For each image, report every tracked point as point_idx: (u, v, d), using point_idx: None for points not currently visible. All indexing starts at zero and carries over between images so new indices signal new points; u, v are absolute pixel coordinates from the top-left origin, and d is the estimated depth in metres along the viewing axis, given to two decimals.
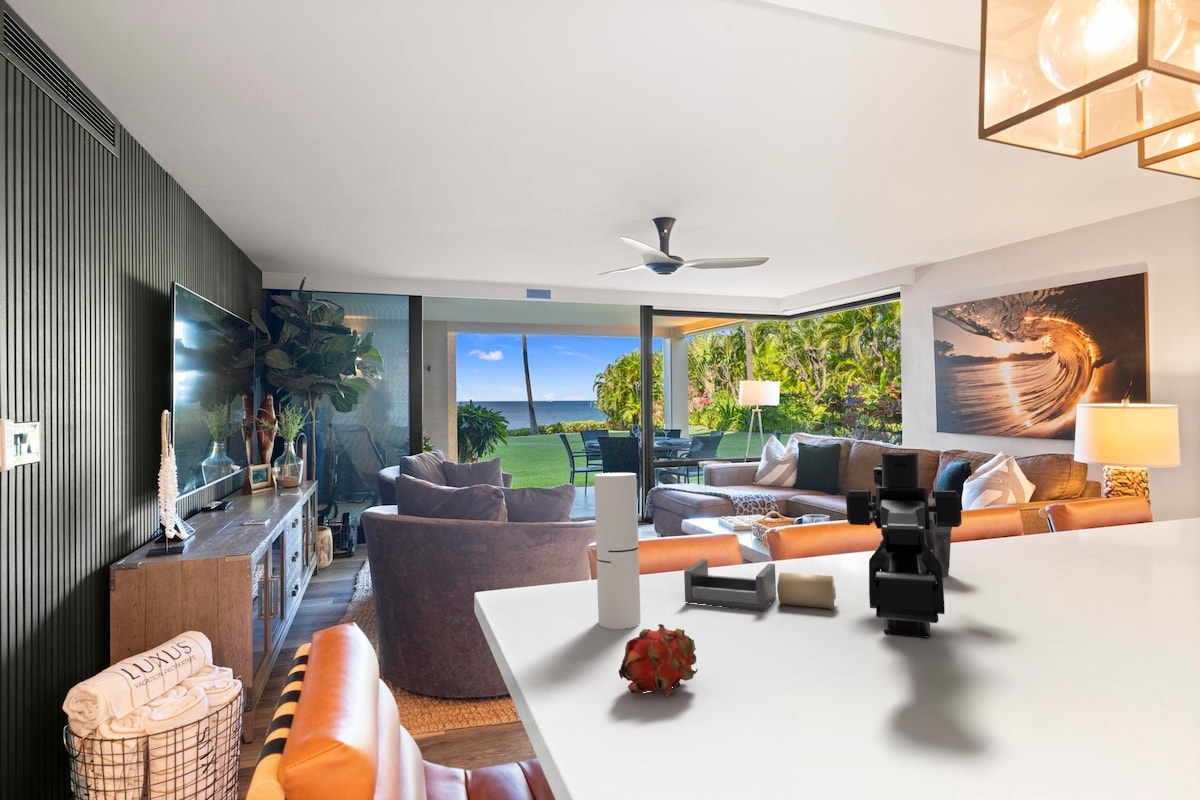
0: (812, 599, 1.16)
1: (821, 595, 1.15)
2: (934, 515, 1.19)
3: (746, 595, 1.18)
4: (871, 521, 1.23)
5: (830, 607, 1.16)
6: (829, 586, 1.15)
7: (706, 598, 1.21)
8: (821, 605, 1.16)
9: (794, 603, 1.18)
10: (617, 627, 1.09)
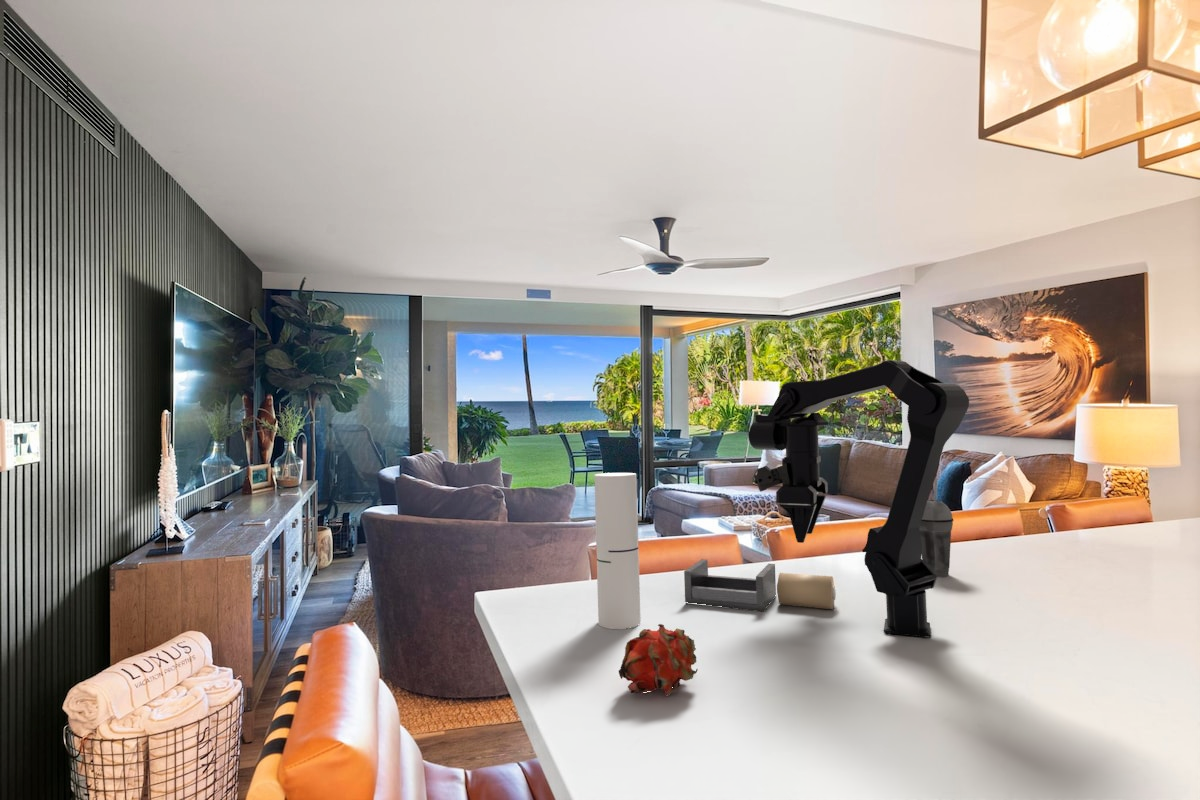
0: (812, 601, 1.16)
1: (821, 598, 1.15)
2: None
3: (746, 595, 1.18)
4: None
5: (830, 608, 1.16)
6: (829, 588, 1.15)
7: (706, 598, 1.21)
8: (821, 606, 1.16)
9: (794, 604, 1.18)
10: (617, 627, 1.09)
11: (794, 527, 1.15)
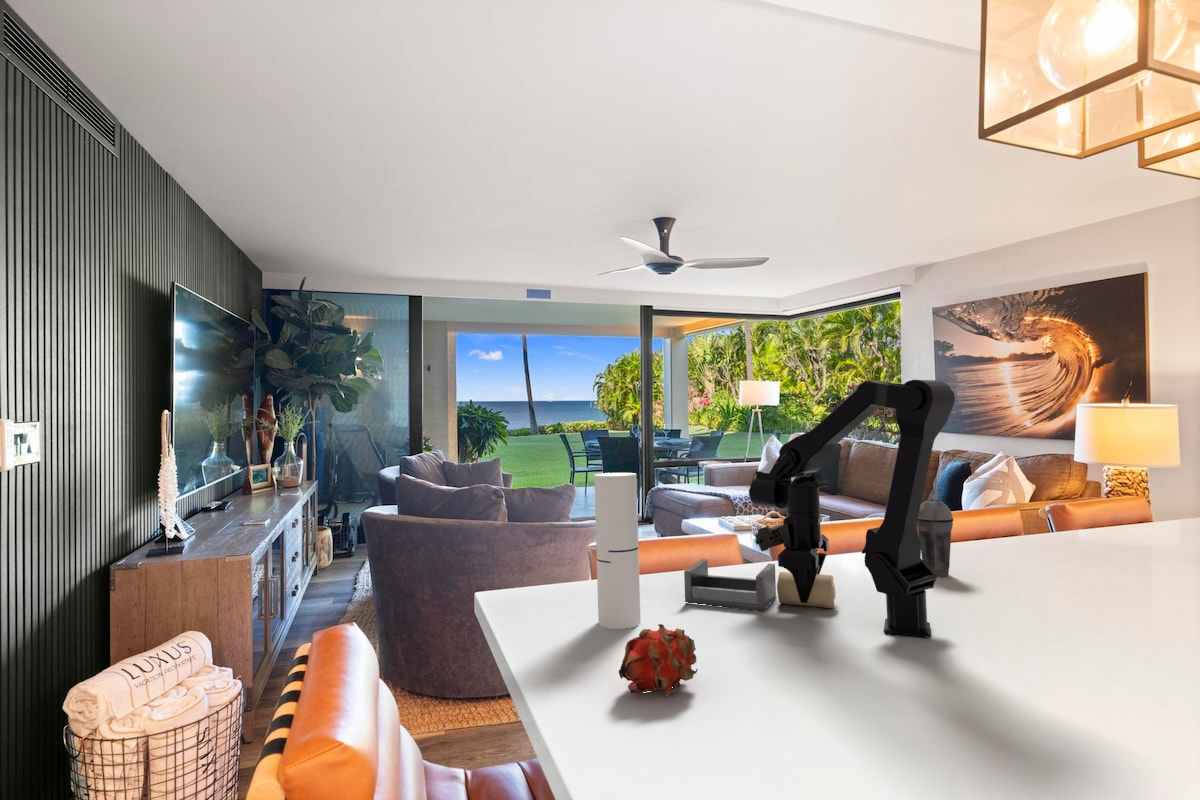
0: (812, 599, 1.16)
1: (821, 595, 1.15)
2: None
3: (746, 595, 1.18)
4: None
5: (830, 606, 1.16)
6: (829, 585, 1.15)
7: (706, 598, 1.21)
8: (821, 605, 1.16)
9: (794, 602, 1.18)
10: (617, 627, 1.09)
11: (798, 587, 1.16)
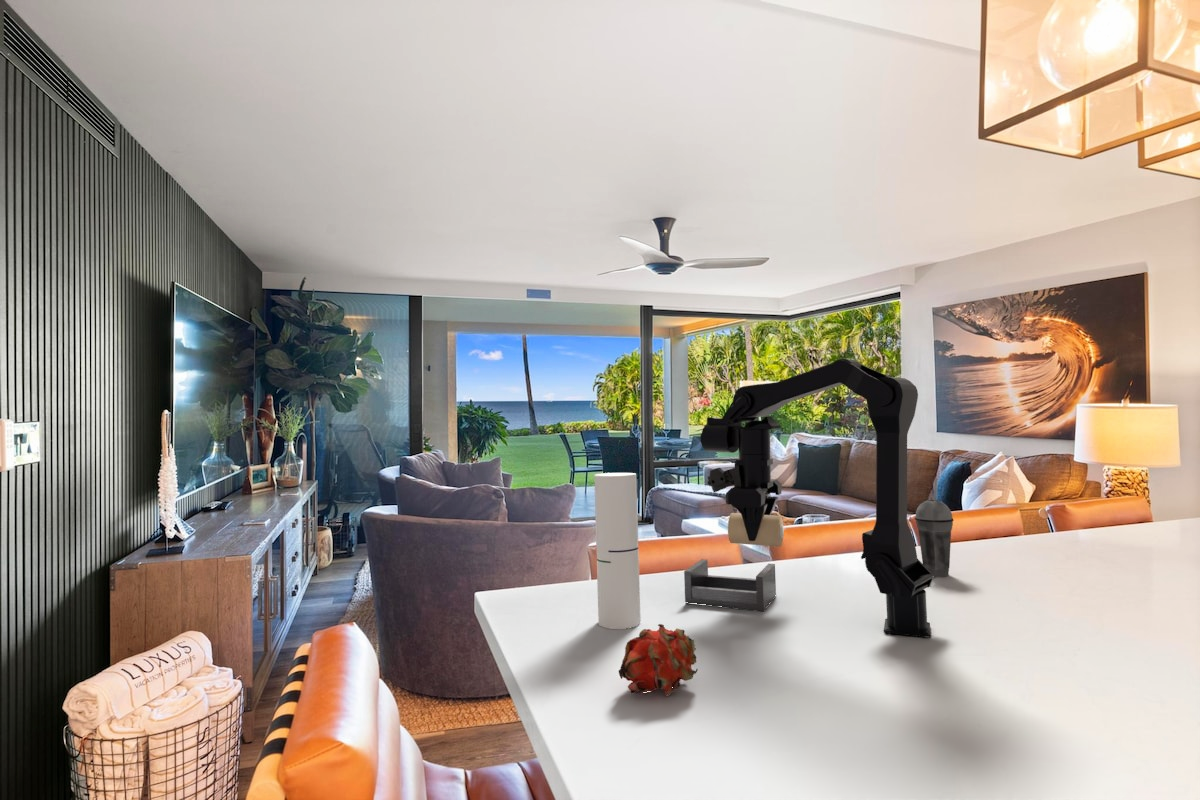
0: (760, 537, 1.20)
1: (768, 533, 1.19)
2: (766, 498, 1.26)
3: (746, 595, 1.18)
4: None
5: (777, 545, 1.20)
6: (776, 524, 1.19)
7: (706, 598, 1.21)
8: (768, 543, 1.20)
9: (743, 541, 1.22)
10: (617, 627, 1.09)
11: (746, 526, 1.20)
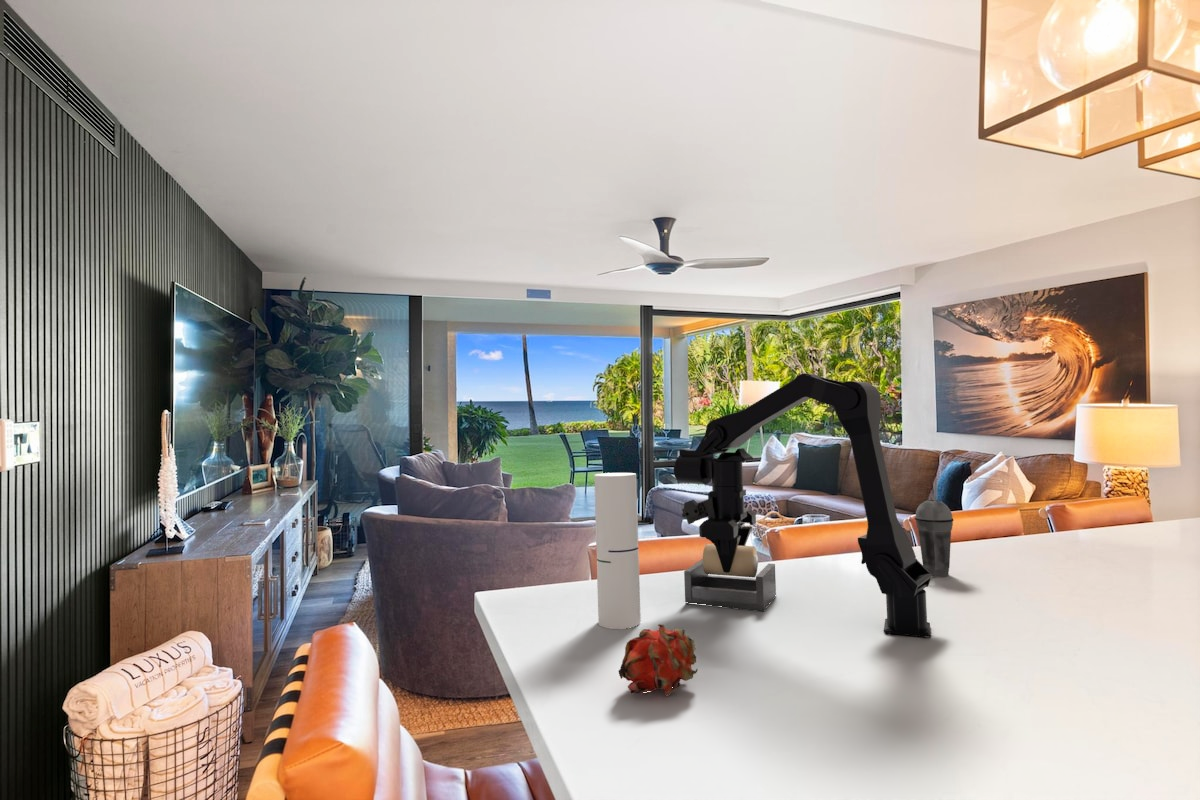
0: (734, 568, 1.21)
1: (742, 564, 1.20)
2: (741, 529, 1.27)
3: (746, 595, 1.18)
4: None
5: (751, 575, 1.21)
6: (749, 555, 1.20)
7: (706, 598, 1.21)
8: (743, 574, 1.21)
9: (718, 572, 1.23)
10: (617, 627, 1.09)
11: (720, 558, 1.21)
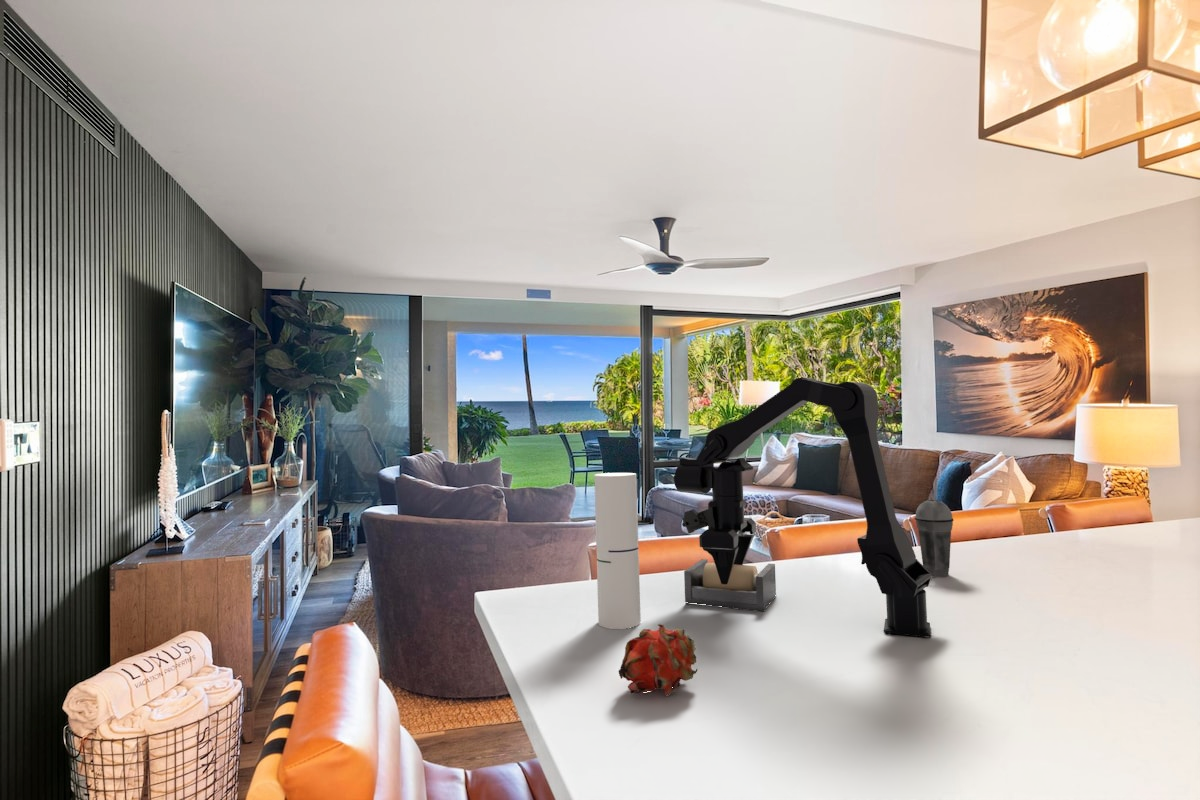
0: (734, 589, 1.21)
1: (742, 586, 1.20)
2: (743, 537, 1.29)
3: (746, 595, 1.18)
4: None
5: None
6: (750, 576, 1.20)
7: (706, 598, 1.21)
8: None
9: None
10: (617, 627, 1.09)
11: (718, 569, 1.20)
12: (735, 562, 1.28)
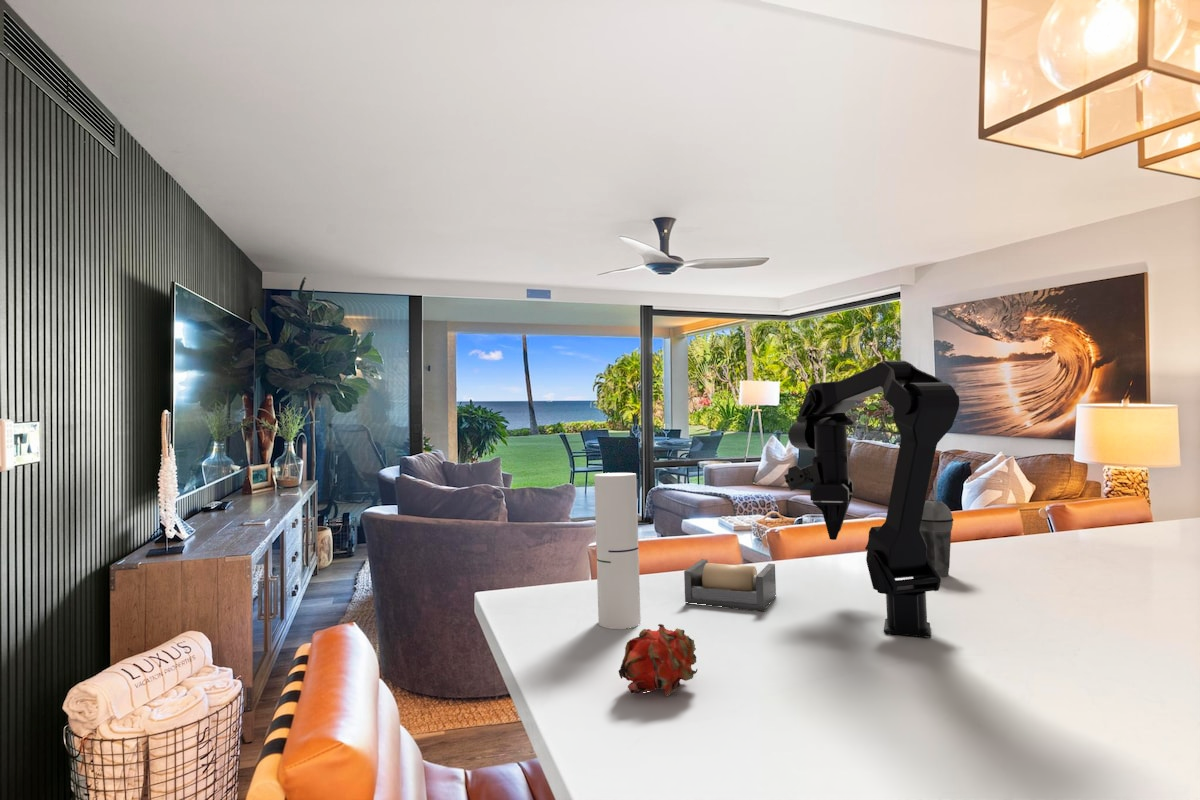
0: None
1: (742, 588, 1.20)
2: None
3: (746, 595, 1.18)
4: None
5: None
6: (749, 579, 1.20)
7: (706, 598, 1.21)
8: None
9: None
10: (617, 627, 1.09)
11: (827, 524, 1.18)
12: None
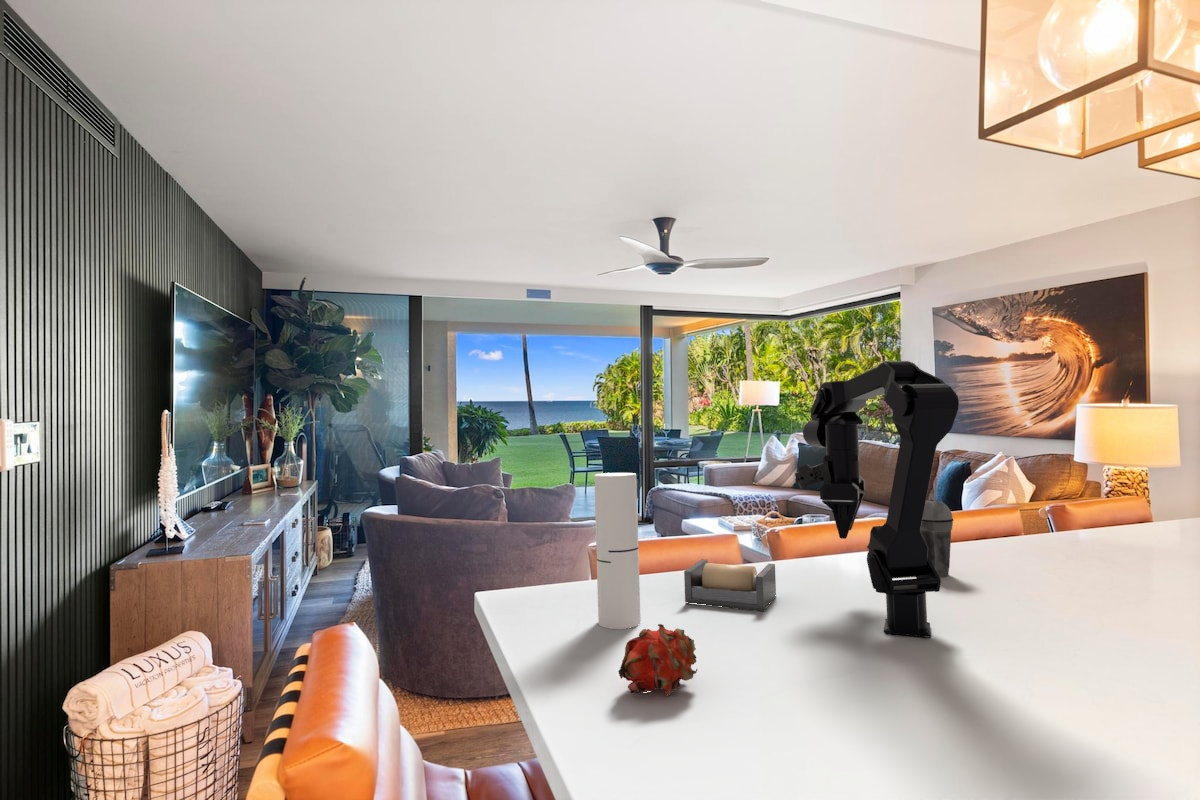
0: None
1: (742, 588, 1.20)
2: None
3: (746, 595, 1.18)
4: None
5: None
6: (749, 579, 1.20)
7: (706, 598, 1.21)
8: None
9: None
10: (617, 627, 1.09)
11: (837, 523, 1.18)
12: None
